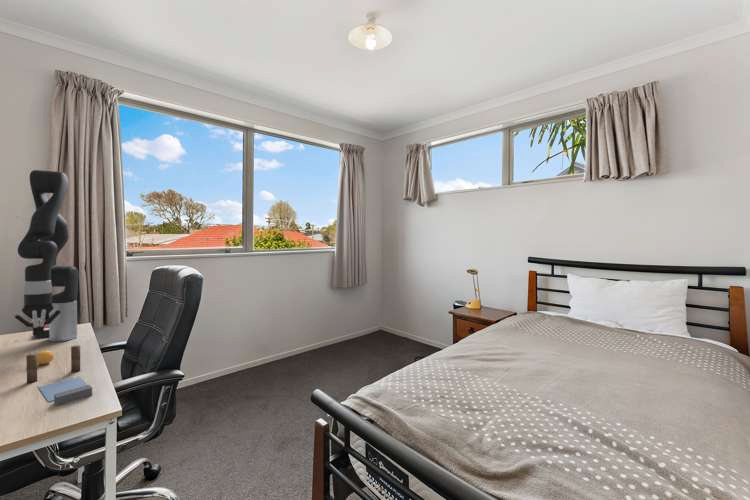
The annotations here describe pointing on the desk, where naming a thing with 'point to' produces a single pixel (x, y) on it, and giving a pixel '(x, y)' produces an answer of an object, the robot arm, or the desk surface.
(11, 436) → the desk surface
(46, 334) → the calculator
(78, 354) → the post
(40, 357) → the ball
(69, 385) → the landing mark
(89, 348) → the desk surface
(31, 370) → the post
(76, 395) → the stopper wall
